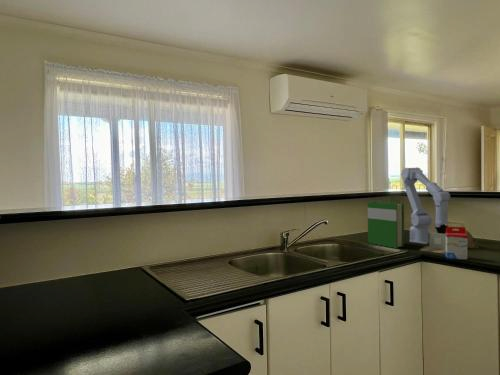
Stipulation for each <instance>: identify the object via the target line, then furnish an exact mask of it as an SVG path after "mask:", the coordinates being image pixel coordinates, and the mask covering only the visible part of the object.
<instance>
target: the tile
mask: <svg viewBox="0 0 500 375" xmlns="http://www.w3.org/2000/svg"><path fill="white" fill-rule="evenodd" d="M428 241H429V243H428V244H429V245H428V246H429V248H437V249H445V250H446V233H445V234H443V233H438V232H431V231H430V232H428Z"/></svg>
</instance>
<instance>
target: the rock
mask: <svg viewBox="0 0 500 375" xmlns="http://www.w3.org/2000/svg"><path fill="white" fill-rule="evenodd" d="M465 234H467V235H468V243H467V249H468V248H470V249H479V245H478V242H477V240H476V238H474V236H473V235H472V234H471V233H470V232H469V231H468V230H467V229H465Z"/></svg>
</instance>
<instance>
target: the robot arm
mask: <svg viewBox="0 0 500 375" xmlns="http://www.w3.org/2000/svg"><path fill="white" fill-rule="evenodd" d="M400 176H401V179H402V181H403V186H404V189H405V192H406V195H407V198H408V201H409V203H410V206H411V209H412V211H413V212H412V213H411V214H410V218H411V220H410V221H411V226H410V227H409V242H410V243H418V244H429V227H430V225H432V222H433V219H432V217H431V216H430V214H429V211H427V210H425V209H424V208H423V205H422V203H421V202H422V201H421V200H420V197H419V193H418V192H417V189H416V186H415V184H416V183H417V182H418V181H419V182H420V183H421V184H423V185H424V186H425V190H426V191H427V192H428V193H429V194H430V195H431V196H432V200H433V202H434V205H435V222H434V223H435V225H434V228H435V230H436V233H443V234H446V227H449V225H450V224H451V221H449V219H448V218H449V216H448V215H449V212H448V211H449V208H448V207H449V203H448V202H449V201H450V200H451V194H450V193H449V191H448V190H443V188H441V187H440V186H439V185H438V183H437V182H434V181H433V182H432V181H431V180H430V179H429V178H428V177H427V176H426V174H424V173H423V170H422V169H421V168H420V167H404V168H403V169H402V170H401V173H400Z"/></svg>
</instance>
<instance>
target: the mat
mask: <svg viewBox="0 0 500 375" xmlns="http://www.w3.org/2000/svg"><path fill="white" fill-rule="evenodd" d="M418 251H422V252H430V253H439V254H445V253H446V250H445V249H437V248H429V245H428V246H427V245H425V246H423V247H422V248H420V249H419V250H418Z"/></svg>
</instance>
